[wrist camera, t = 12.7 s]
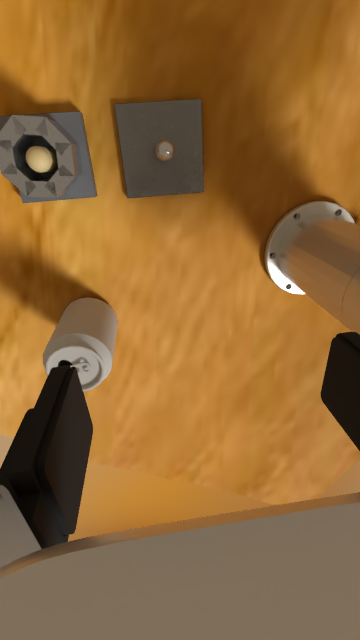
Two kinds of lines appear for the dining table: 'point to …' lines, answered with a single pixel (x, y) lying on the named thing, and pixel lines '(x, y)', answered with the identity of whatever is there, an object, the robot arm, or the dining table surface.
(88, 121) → the dining table surface
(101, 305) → the can
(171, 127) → the stand
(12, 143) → the collar
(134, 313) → the dining table surface
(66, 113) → the square base with peg
